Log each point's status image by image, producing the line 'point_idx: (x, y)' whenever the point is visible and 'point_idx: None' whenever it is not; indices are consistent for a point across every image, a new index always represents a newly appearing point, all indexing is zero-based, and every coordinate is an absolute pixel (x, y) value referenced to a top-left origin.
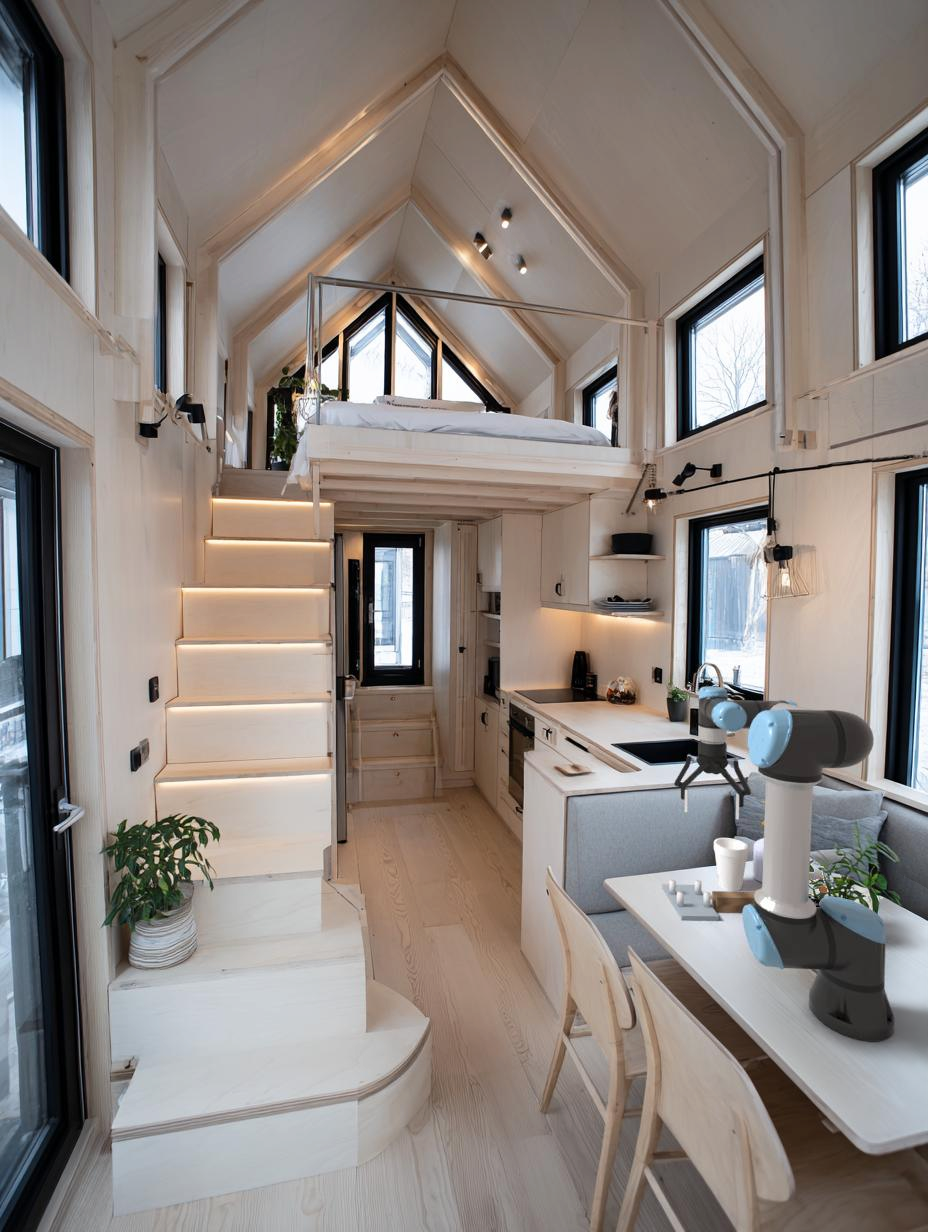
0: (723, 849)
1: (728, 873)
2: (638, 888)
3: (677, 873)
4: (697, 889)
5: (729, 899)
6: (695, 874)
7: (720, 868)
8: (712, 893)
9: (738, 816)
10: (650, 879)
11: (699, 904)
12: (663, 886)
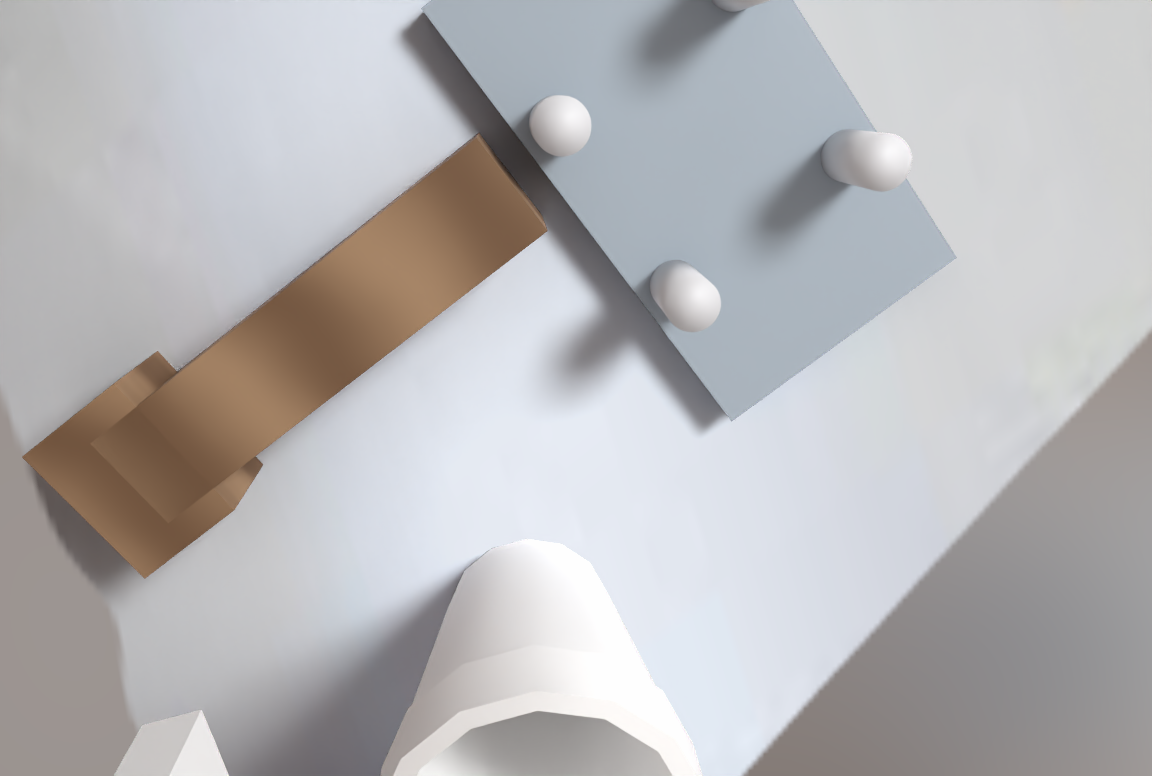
0: (571, 686)
1: (519, 590)
2: (1104, 127)
3: (909, 564)
4: (680, 267)
5: (391, 204)
6: (792, 631)
7: (591, 608)
8: (541, 221)
9: (125, 768)
10: (1060, 339)
11: (611, 109)
12: (940, 232)
